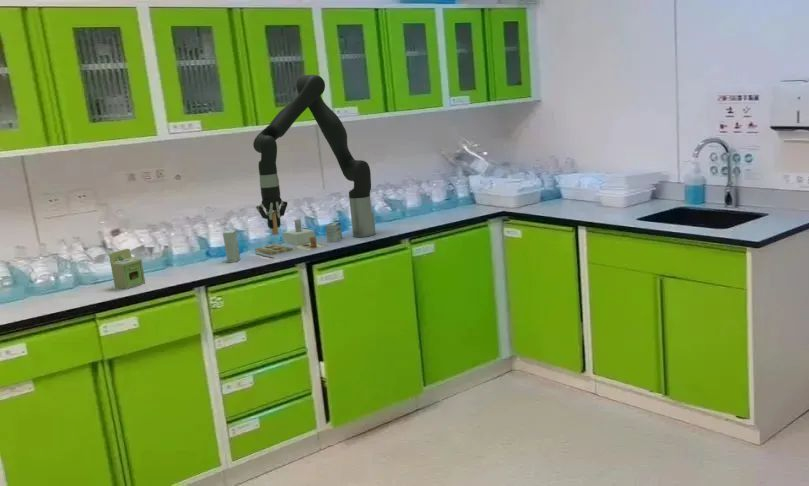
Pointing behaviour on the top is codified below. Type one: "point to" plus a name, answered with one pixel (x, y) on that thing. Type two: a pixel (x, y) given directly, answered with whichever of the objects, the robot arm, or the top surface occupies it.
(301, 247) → the board
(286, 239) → the cover
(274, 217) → the peg
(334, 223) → the medicine box
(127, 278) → the toy sink
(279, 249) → the build board
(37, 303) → the top surface
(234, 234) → the skincare box
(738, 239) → the top surface
